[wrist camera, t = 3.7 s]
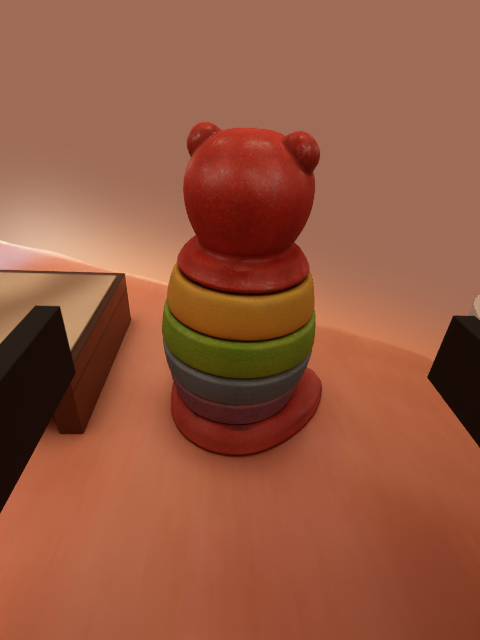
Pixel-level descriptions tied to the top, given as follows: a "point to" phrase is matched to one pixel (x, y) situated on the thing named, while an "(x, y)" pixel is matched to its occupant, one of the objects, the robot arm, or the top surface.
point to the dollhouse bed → (73, 327)
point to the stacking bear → (243, 291)
